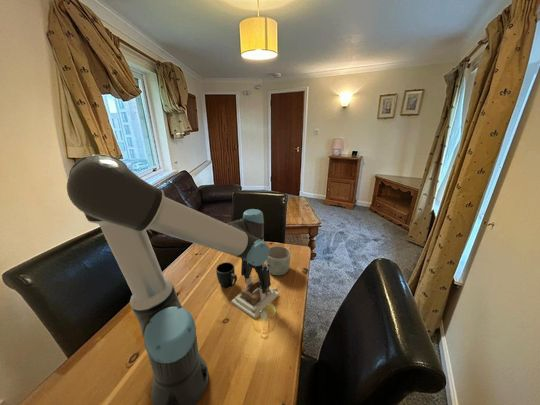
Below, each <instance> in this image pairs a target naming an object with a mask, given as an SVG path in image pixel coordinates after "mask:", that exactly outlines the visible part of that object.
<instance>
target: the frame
mask: <svg viewBox="0 0 540 405" xmlns="http://www.w3.org/2000/svg"><path fill="white" fill-rule="evenodd" d="M260 286H261V284H260V281H259V278H258V277H257V278H256V279H254V280H252V283H251V284H250V285H248V286H247V287H244V288H243V289H242V290H241V292H242V298H244V299H245V300H247V301H248V302H250V303H251V304H253V305H255V304H256V303H257V302H258V301H260V290H258V291H257V292H256V293H255V294H252V292H253V291H255V290H256V289H257V288H259V289H260ZM269 287H270V286H269ZM269 287H268V288H267V291H266V293H265V295H266V294H267V293H268V292H269Z"/></svg>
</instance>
